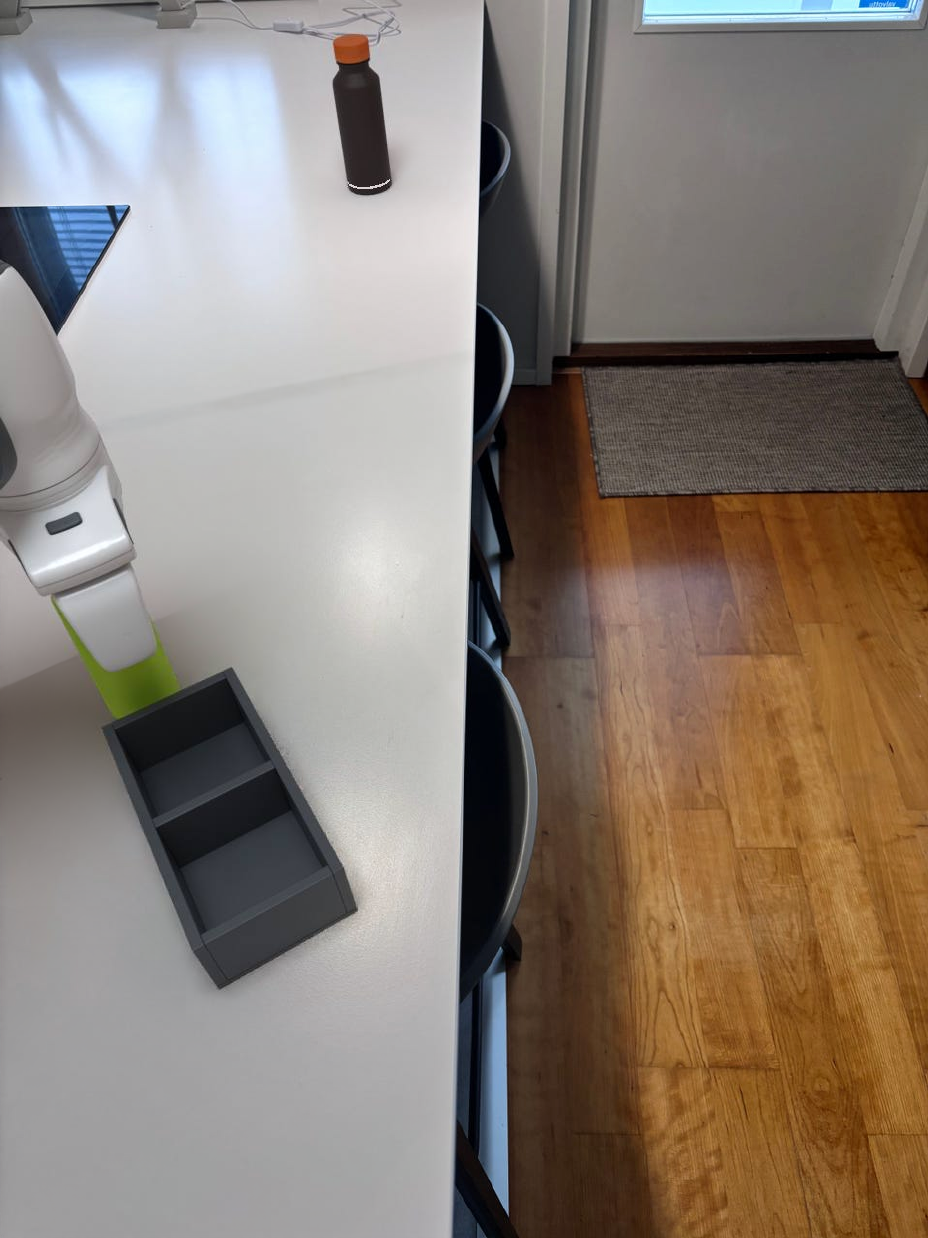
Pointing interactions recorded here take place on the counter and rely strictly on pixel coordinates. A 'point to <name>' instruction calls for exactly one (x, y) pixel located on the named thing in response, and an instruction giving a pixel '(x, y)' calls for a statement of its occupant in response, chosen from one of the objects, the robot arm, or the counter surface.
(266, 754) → the storage box
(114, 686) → the soap dispenser
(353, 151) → the bottle
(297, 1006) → the counter surface
